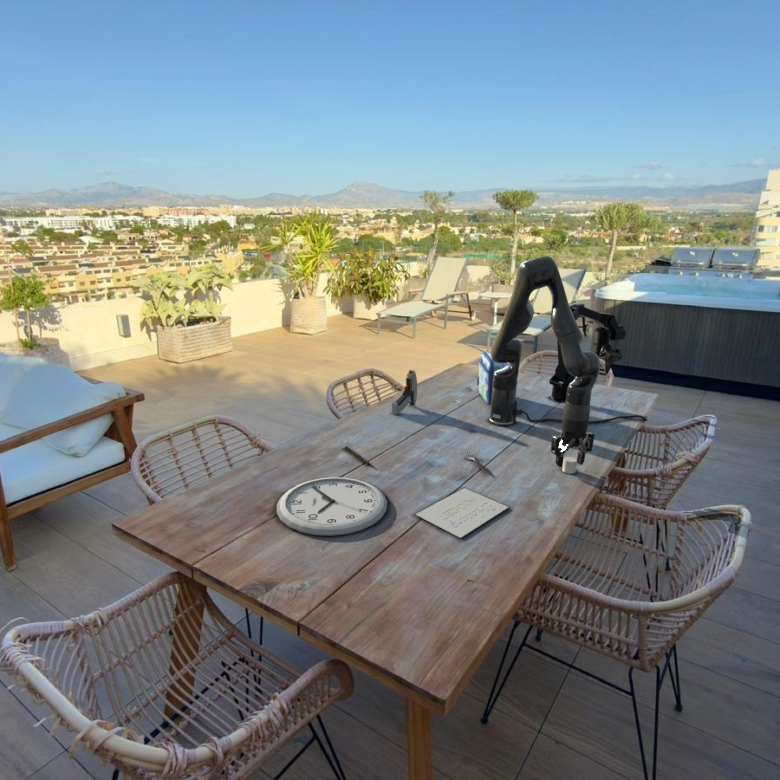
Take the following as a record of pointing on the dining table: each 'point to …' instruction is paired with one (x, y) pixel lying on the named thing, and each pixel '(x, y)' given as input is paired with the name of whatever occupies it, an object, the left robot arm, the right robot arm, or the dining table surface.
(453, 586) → the dining table surface
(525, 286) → the left robot arm
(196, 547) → the dining table surface
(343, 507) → the wall clock
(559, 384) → the right robot arm
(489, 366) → the lunch box
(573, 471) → the cream short cylinder
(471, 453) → the fork
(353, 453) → the brown thin stick
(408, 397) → the toy gun
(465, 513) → the invitation card
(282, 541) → the dining table surface
